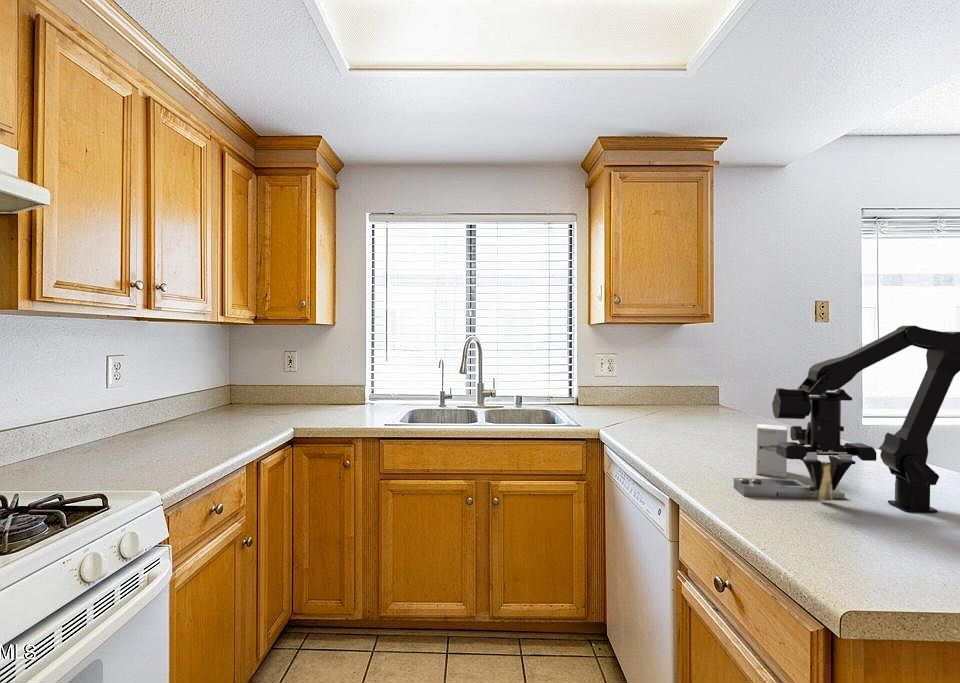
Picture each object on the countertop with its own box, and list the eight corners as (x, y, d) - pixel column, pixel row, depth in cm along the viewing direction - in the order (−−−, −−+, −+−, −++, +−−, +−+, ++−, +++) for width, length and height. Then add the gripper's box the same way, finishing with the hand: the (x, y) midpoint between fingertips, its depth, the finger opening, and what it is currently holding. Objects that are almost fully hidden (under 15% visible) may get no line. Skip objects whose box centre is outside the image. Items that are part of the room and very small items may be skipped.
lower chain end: (844, 498, 129) (844, 491, 129) (778, 497, 130) (778, 489, 130) (828, 490, 136) (828, 482, 136) (765, 488, 137) (765, 481, 137)
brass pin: (835, 500, 124) (835, 464, 124) (820, 500, 124) (821, 464, 124) (828, 496, 127) (828, 461, 127) (814, 496, 127) (814, 461, 127)
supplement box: (755, 474, 150) (755, 427, 150) (756, 468, 157) (756, 423, 156) (787, 478, 147) (787, 429, 146) (786, 471, 153) (787, 425, 153)
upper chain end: (809, 497, 129) (810, 484, 129) (744, 496, 131) (744, 483, 131) (795, 489, 136) (796, 476, 136) (733, 487, 138) (733, 475, 138)
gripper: (849, 414, 132) (848, 480, 133) (766, 413, 134) (766, 478, 135) (878, 422, 121) (877, 494, 122) (787, 421, 123) (786, 492, 124)
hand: (824, 489), depth 126 cm, fingers closed on brass pin, 3 cm apart
